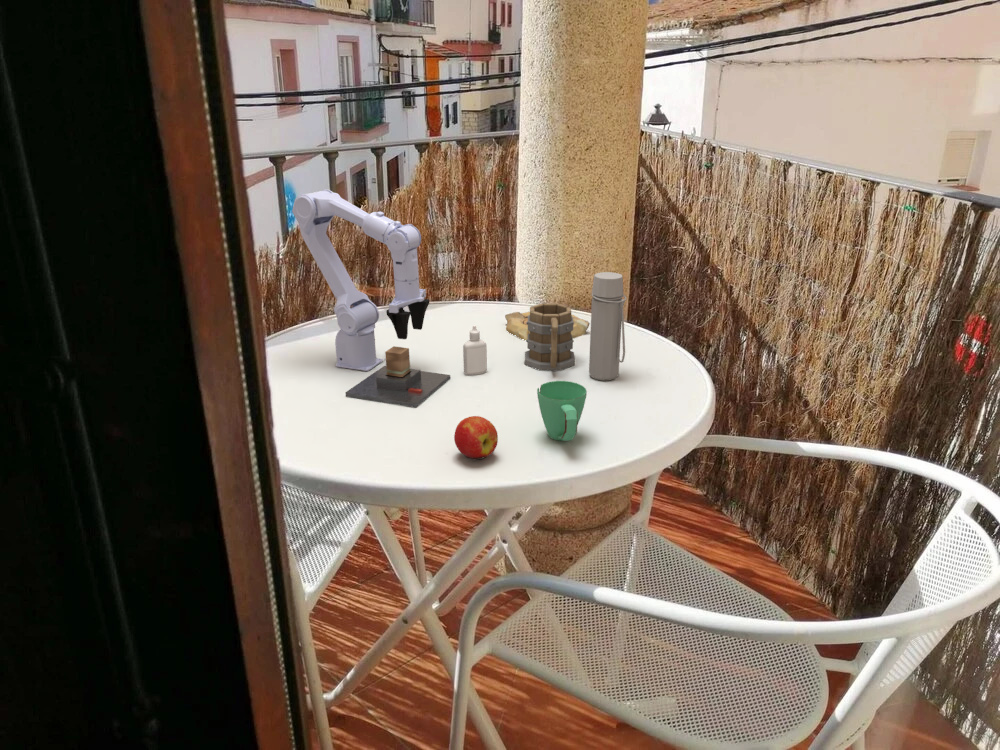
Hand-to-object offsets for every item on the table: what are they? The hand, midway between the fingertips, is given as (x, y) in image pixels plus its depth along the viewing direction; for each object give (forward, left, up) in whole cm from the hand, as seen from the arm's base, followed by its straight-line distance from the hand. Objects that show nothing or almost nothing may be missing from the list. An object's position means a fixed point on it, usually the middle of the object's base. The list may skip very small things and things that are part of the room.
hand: (410, 333), depth 183 cm
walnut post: (+1, -9, -7) cm, 11 cm away
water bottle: (+45, +14, -11) cm, 48 cm away
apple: (+31, -34, -11) cm, 47 cm away
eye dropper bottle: (+14, +6, -11) cm, 19 cm away
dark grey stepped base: (+1, -9, -10) cm, 14 cm away
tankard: (+30, +16, -11) cm, 36 cm away
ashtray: (+20, +44, -11) cm, 50 cm away
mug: (+45, -22, -11) cm, 51 cm away
